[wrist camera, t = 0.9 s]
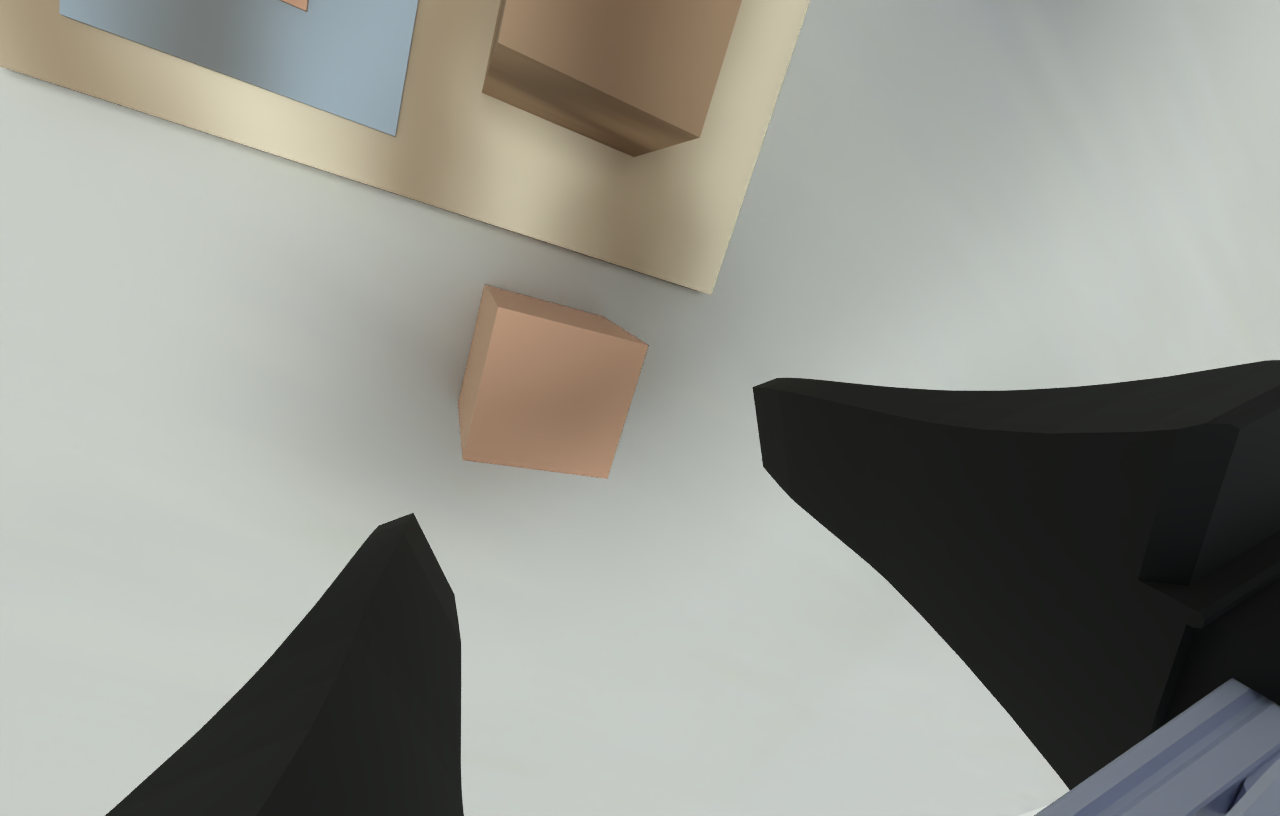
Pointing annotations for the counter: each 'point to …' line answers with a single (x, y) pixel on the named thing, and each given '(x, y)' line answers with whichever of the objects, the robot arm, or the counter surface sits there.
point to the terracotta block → (546, 386)
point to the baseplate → (462, 102)
